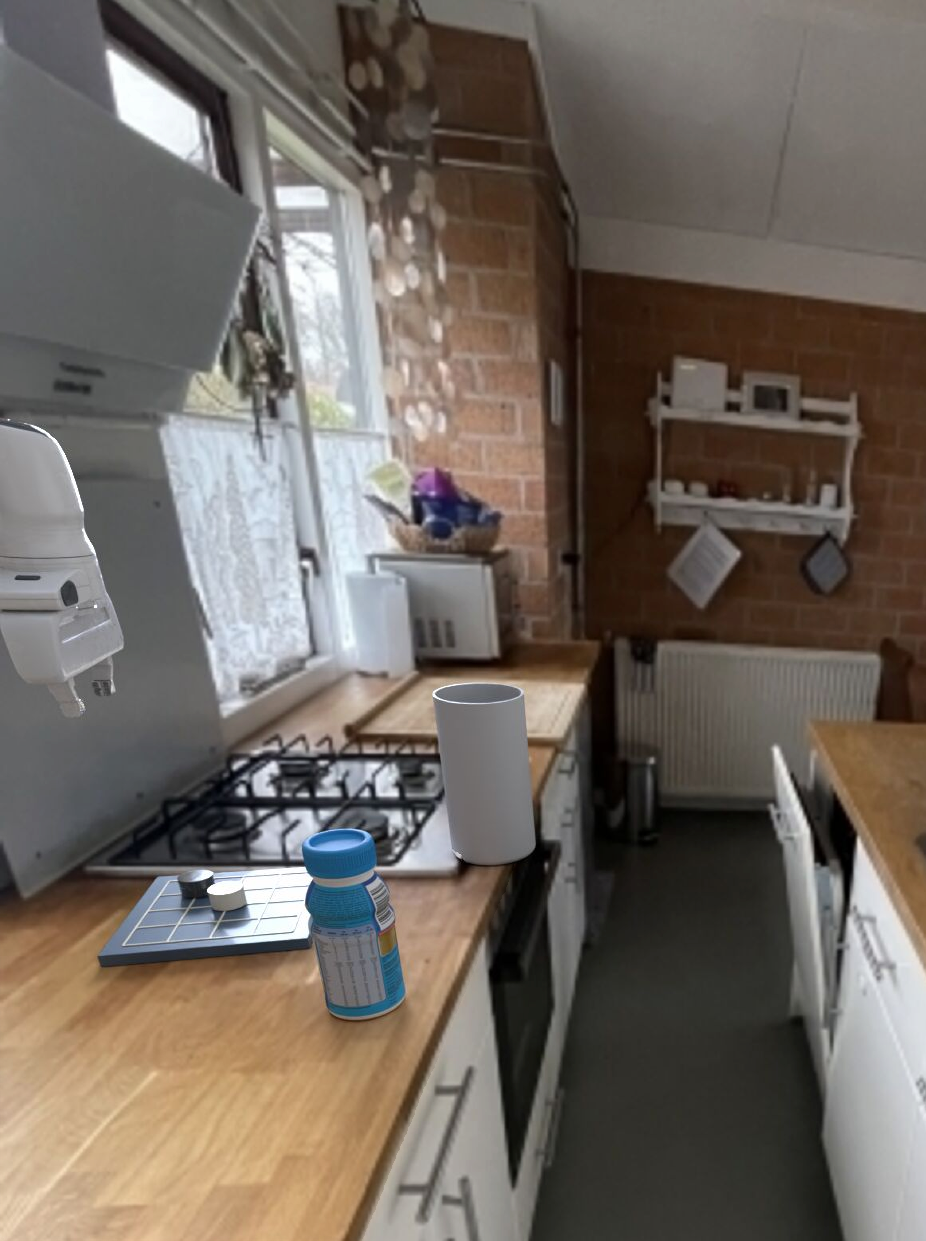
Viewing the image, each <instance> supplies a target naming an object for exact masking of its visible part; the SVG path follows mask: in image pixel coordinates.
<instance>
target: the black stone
mask: <svg viewBox="0 0 926 1241" xmlns="http://www.w3.org/2000/svg"><path fill="white" fill-rule="evenodd" d="M213 873H214V872H213V871H212V870H210V869H193V870H189V871H185V872H183V873H181V874H178V875H179V876H178V878H177V880H178V884H179V887H180V891H181V894H182V896H183V897H185V898H201V897H205V896H208V892H207V890H208V888H209V887H211V886H212V885H215V884H216V883H215V879H214V875H213Z"/></svg>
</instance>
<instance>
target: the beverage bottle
mask: <svg viewBox="0 0 926 1241" xmlns="http://www.w3.org/2000/svg"><path fill="white" fill-rule="evenodd" d="M301 853H302V859H303V863H304V867H305V868H306V871H307V872H308V874H309V876H310V877H312V878H313V879H312V881H311V882H310V884H309V887H308V889H307V892H306V897H305V907H306V910H307V911H308V912H309V913H310V914H311V915H310V917H309V920H308V928H309V933H310V935H311V937H312V939H313V941H312V944H313V947H314V948H313V949H314V952H315V957H316V962H317V966H318V970H319V975H320V980H321V984H322V990H323V993H324V1000H325V1005H326V1008H327V1011H328V1012H329V1013H330V1014H331V1015H333V1016H334V1017H336V1018H339V1019H342V1020H346V1021H365V1020H370V1019H376V1018H378V1017H381V1016H383V1015H386V1014H388V1013H390V1012H392V1011H393V1010H396V1008H398V1007H399V1006H400V1005H401V1004H402V1002H404V999H405V997H406V994H407V993H406V991H407V990H406V986H405V982H404V975H403V971H402V970H403V969H402V968H403V967H402V963H401V955H400V949H399V944H398V943H399V942H398V936H397V931H396V930H397V929H396V915H395V910H394V908H393V907H392V905H391V904H390V902H389V901H390V899H391V891H390V889H389V887H388V885H387V883H386V882H385V880H384V879H383V877H382V876H381V875H380V874H379V873H378V872H376V870H375V869H376V867H377V863H378V858H377V850H376V846H375V840H374V838H373V836H372V835H371V834H370V833H369V832H367V831H365V830H362V829H356V828H335V829H329V830H325V831H321V832H317V833H314V834H312V835H310V836H308V837H307V838H306V839H304V840H303V841H302V844H301Z"/></svg>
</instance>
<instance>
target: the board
mask: <svg viewBox="0 0 926 1241" xmlns="http://www.w3.org/2000/svg"><path fill="white" fill-rule="evenodd" d="M179 875H180V874H177V875H161V876H156V878H155V879H154V881H153V882H152V883H151V885H150V886H149V888H148V889H147V890H145V892H144V893H143V895H142V896H141V898H139V900H138V901H137V903H136V905H135V906H133V908H132V910H131V911H130V912H129V913H128V915H127V916H126V918H124V920H123V921H122V923H121V924H120V925H119V926H118V928H117V929H116V931H115V932H114V933H113V934H112V936H111V937H110V938H109V939H108V941H107V942H106V944H105V945H104V947H103V948H102V949H101V950H100V952H99V953H98V955H97V960H98V963H99V966H100V967H101V968H104V967H115V966H116V967H117V966H125V965H126V966H127V965H138V964H139V965H140V964H149V963H151V964H152V963H160V962H173V961H182V960H194V959H206V958H207V959H208V958H216V957H217V958H218V957H228V956H229V957H230V956H237V955H238V956H240V955H250V954H251V955H252V954H263V953H274V952H284V951H295V950H297V951H298V950H306V949H307V950H308V949H311V947H312V944H313V939H312V937H311V935H310V933H309V928H308V920H309V917H310V915H311V914H310V913H309V912H308V911H307V910H306V907H305V897H306V892H307V889H308V887H309V884H310V882H311V881H312V879H313V878H312V877H310V876H309V874H308V872H307V871H306V868H305V866H303V867H302V866H301V867H288V868H287V867H286V868H273V869H272V868H271V869H255V870H254V869H253V870H242V871H241V870H240V871H239V870H238V871H226V872H223V871H222V872H213V875H214V879H215V883H216V884H218V883H221V882H227V881H236V882H240V883H242V884H243V886H244V890H245V894H246V898H247V903H246V904H245V905H244V906H242V907H240V908H237V909H234V910H229V911H217V910H214V909H212V907H211V904H210V900H209V896H205V897H201V898H185V897H183V896H182V894H181V891H180V887H179V884H178V880H177V878H178V876H179Z"/></svg>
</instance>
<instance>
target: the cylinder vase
mask: <svg viewBox="0 0 926 1241" xmlns="http://www.w3.org/2000/svg"><path fill="white" fill-rule="evenodd" d="M432 701H433V710H434V718H435V726H436V734H437V742H438V749H439V757H440V765H441V772H442V781H443V782H442V783H443V789H444V796H445V806H446V814H447V820H448V828H449V837H450V845H451V850H452V849H453V850H454V851H455V852H458V853H459V854H461V855H462V858H463V860H464V861H465V862H464V861H463V862H464V863H467V864H472V865H477V866H499V865H506V864H511V863H515V862H517V861H521V860H523V859H524V858H527V857H529V855H531V854H532V853H533V852H534V850H535V848H536V844H537V842H536V830H535V817H534V806H533V805H534V804H533V794H532V792H533V791H532V780H531V768H530V767H531V766H530V753H529V743H528V729H527V718H526V716H527V715H526V705H525V692H524V690H523V689H522V688H520V687H518V686H514V685H510V684H506V683H497V682H495V683H494V682H466V683H456V684H451V685H446V686H441V687H439V688H437V689H435V690H433V692H432Z"/></svg>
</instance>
